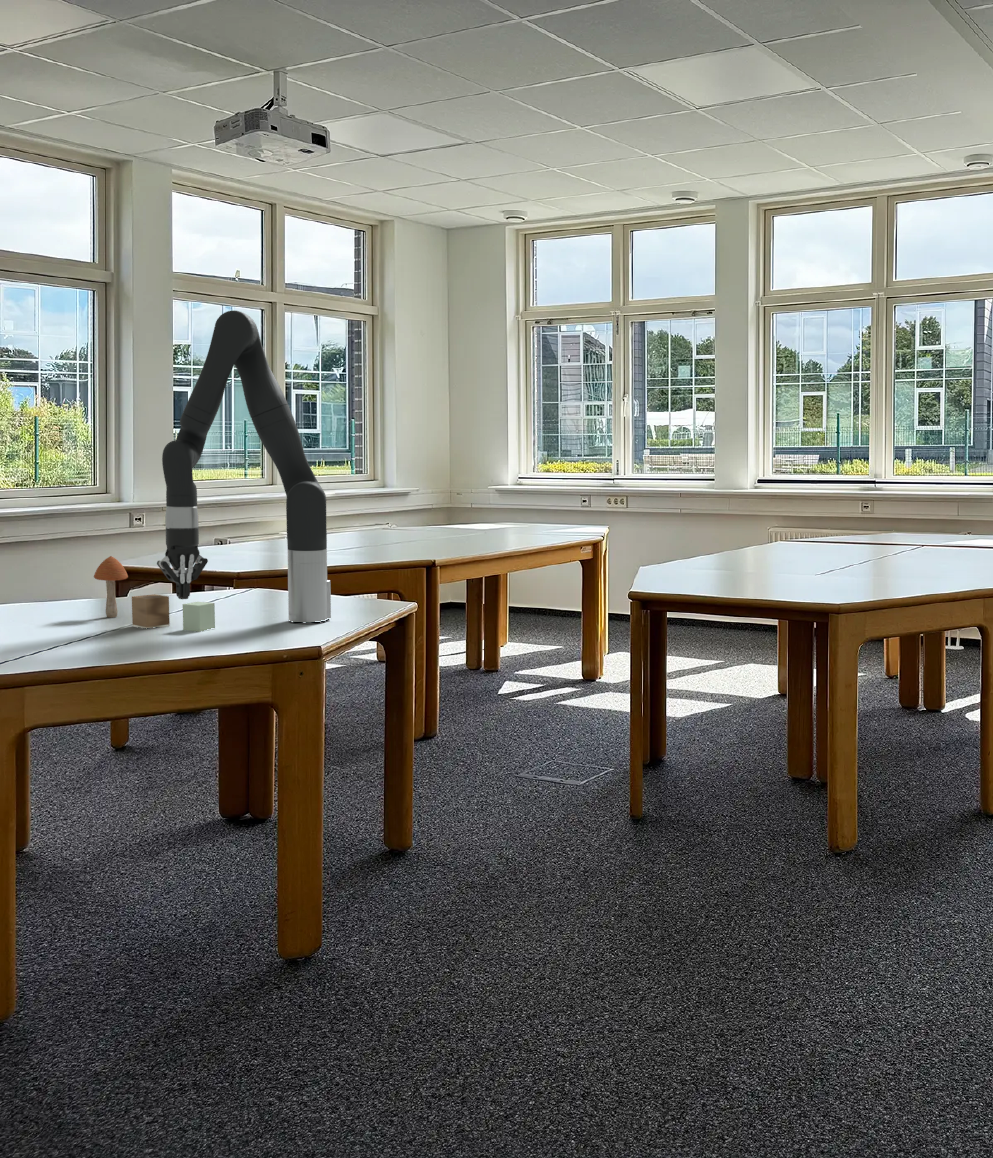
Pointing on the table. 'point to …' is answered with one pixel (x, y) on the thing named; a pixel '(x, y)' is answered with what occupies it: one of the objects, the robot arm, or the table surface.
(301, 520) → the robot arm
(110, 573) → the mushroom
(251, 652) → the table surface
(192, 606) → the sage block
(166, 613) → the walnut block
